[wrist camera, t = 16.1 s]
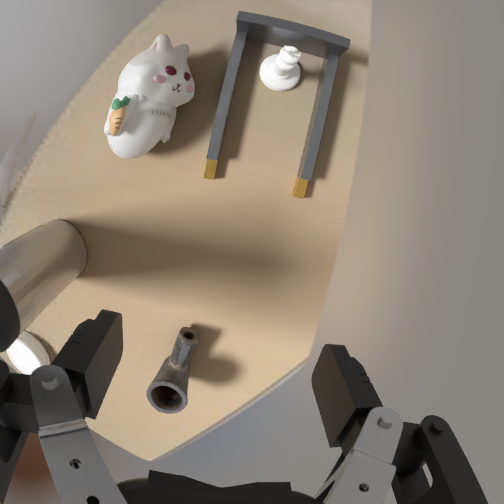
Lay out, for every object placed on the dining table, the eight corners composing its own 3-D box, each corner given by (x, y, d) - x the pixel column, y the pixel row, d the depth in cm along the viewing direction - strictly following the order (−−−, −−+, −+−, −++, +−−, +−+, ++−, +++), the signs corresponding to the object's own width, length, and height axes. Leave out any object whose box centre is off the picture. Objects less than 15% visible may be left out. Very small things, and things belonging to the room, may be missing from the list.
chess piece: (270, 48, 30) (280, 18, 21) (306, 66, 31) (328, 42, 22) (252, 80, 32) (256, 58, 22) (289, 97, 33) (306, 82, 23)
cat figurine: (104, 171, 26) (163, 26, 20) (73, 144, 29) (121, 22, 22) (169, 172, 34) (223, 57, 28) (134, 147, 37) (178, 46, 31)
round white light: (43, 376, 48) (36, 386, 44) (9, 344, 45) (1, 353, 42) (57, 355, 46) (49, 366, 42) (20, 320, 43) (10, 330, 40)
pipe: (209, 331, 44) (204, 366, 36) (186, 384, 47) (180, 419, 40) (170, 317, 43) (158, 350, 35) (153, 373, 47) (142, 407, 39)
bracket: (204, 176, 36) (198, 183, 30) (239, 29, 29) (239, 11, 24) (301, 197, 37) (312, 207, 31) (334, 53, 31) (350, 39, 25)
